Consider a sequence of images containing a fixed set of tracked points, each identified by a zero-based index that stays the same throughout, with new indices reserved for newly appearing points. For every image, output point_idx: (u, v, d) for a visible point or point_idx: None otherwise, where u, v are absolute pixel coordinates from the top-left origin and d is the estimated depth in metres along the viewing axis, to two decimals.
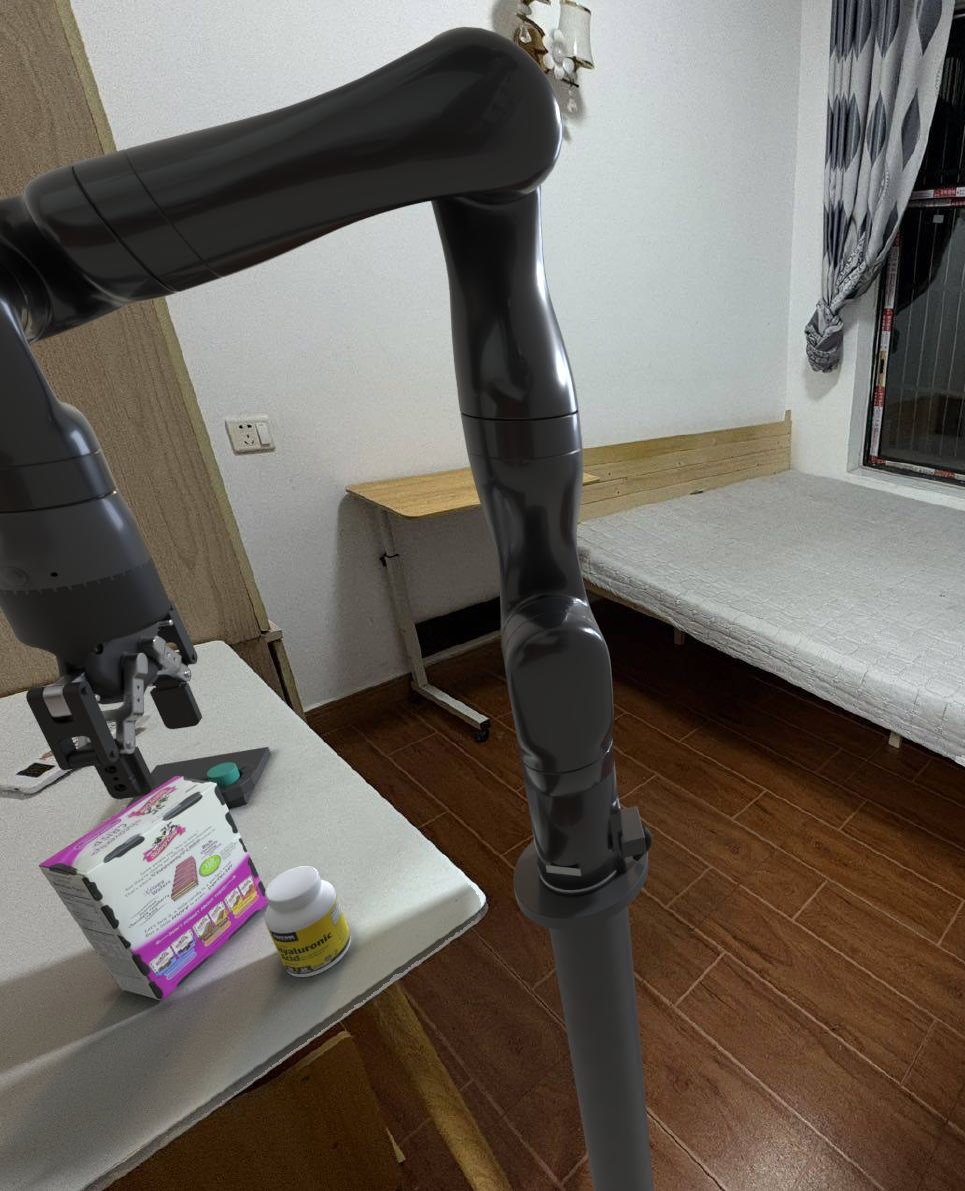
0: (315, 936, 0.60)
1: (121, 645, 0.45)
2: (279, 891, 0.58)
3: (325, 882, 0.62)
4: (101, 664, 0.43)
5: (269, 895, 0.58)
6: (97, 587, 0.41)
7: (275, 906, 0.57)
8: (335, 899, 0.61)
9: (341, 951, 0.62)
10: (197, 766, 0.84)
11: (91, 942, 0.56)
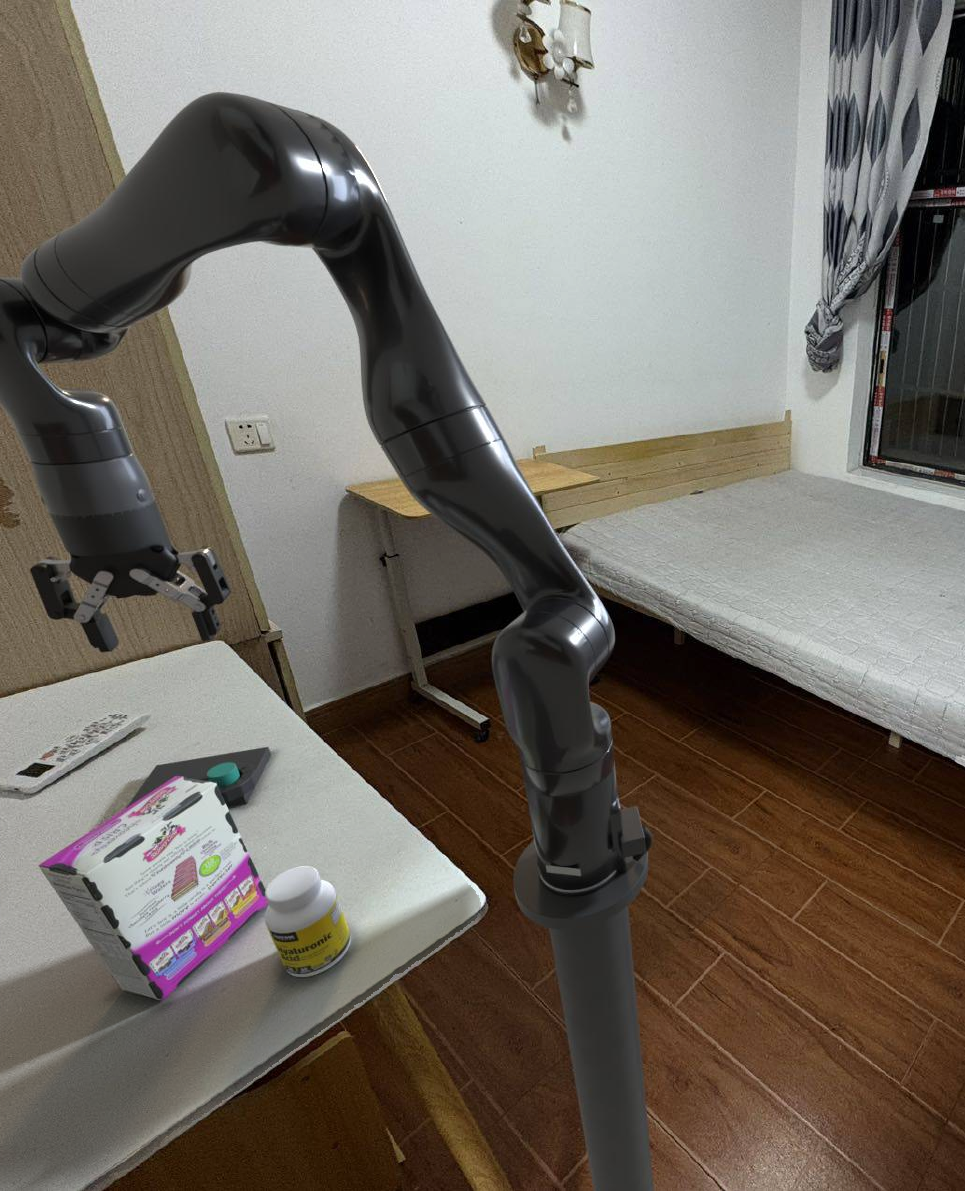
0: (315, 936, 0.60)
1: None
2: (279, 891, 0.58)
3: (325, 882, 0.62)
4: None
5: (269, 895, 0.58)
6: None
7: (275, 906, 0.57)
8: (335, 899, 0.61)
9: (341, 951, 0.62)
10: (197, 766, 0.84)
11: (91, 942, 0.56)
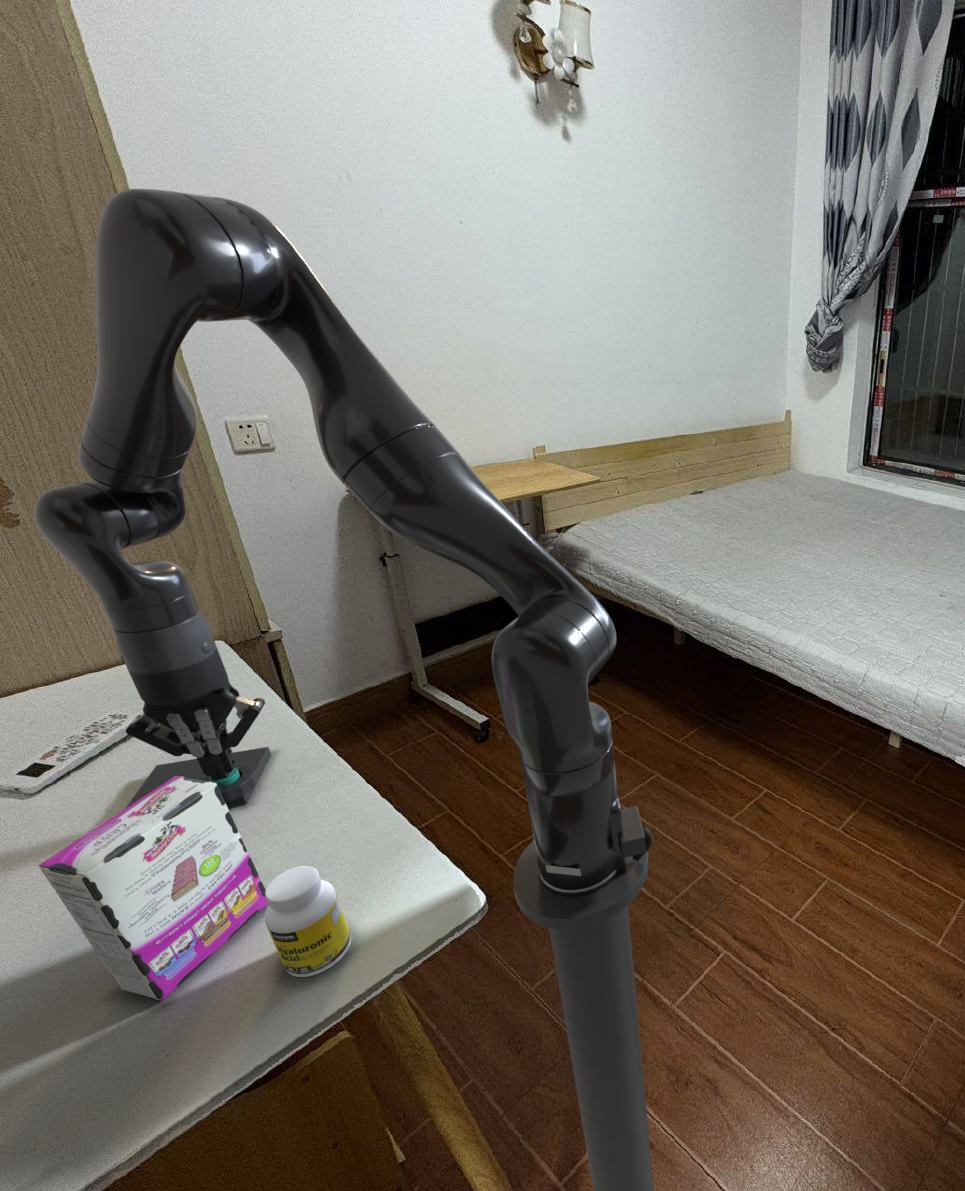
0: (315, 936, 0.60)
1: None
2: (279, 891, 0.58)
3: (325, 882, 0.62)
4: None
5: (269, 895, 0.58)
6: None
7: (275, 906, 0.57)
8: (335, 899, 0.61)
9: (341, 951, 0.62)
10: (197, 766, 0.84)
11: (91, 942, 0.56)
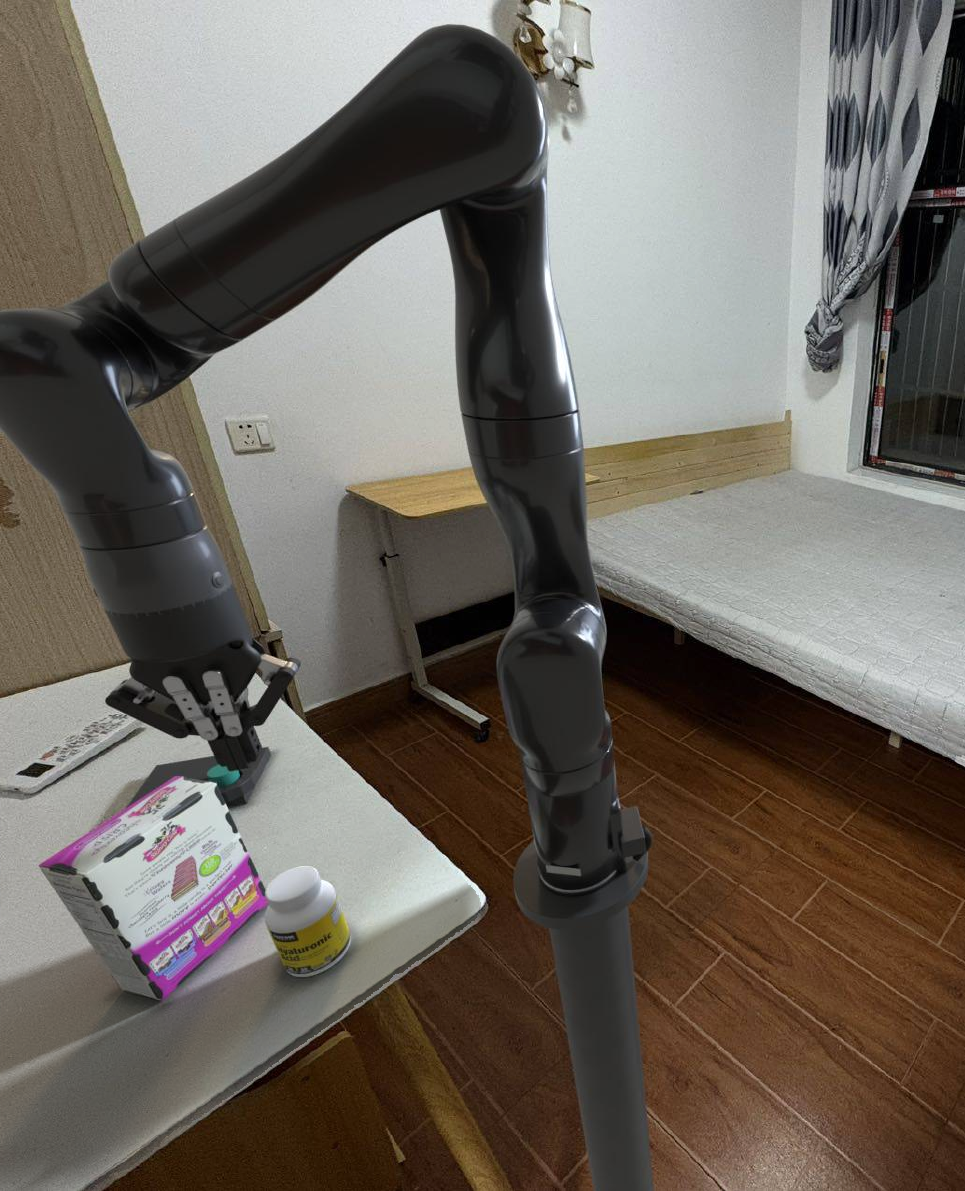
0: (315, 936, 0.60)
1: None
2: (279, 891, 0.58)
3: (325, 882, 0.62)
4: None
5: (269, 895, 0.58)
6: None
7: (275, 906, 0.57)
8: (335, 899, 0.61)
9: (341, 951, 0.62)
10: (197, 766, 0.84)
11: (91, 942, 0.56)
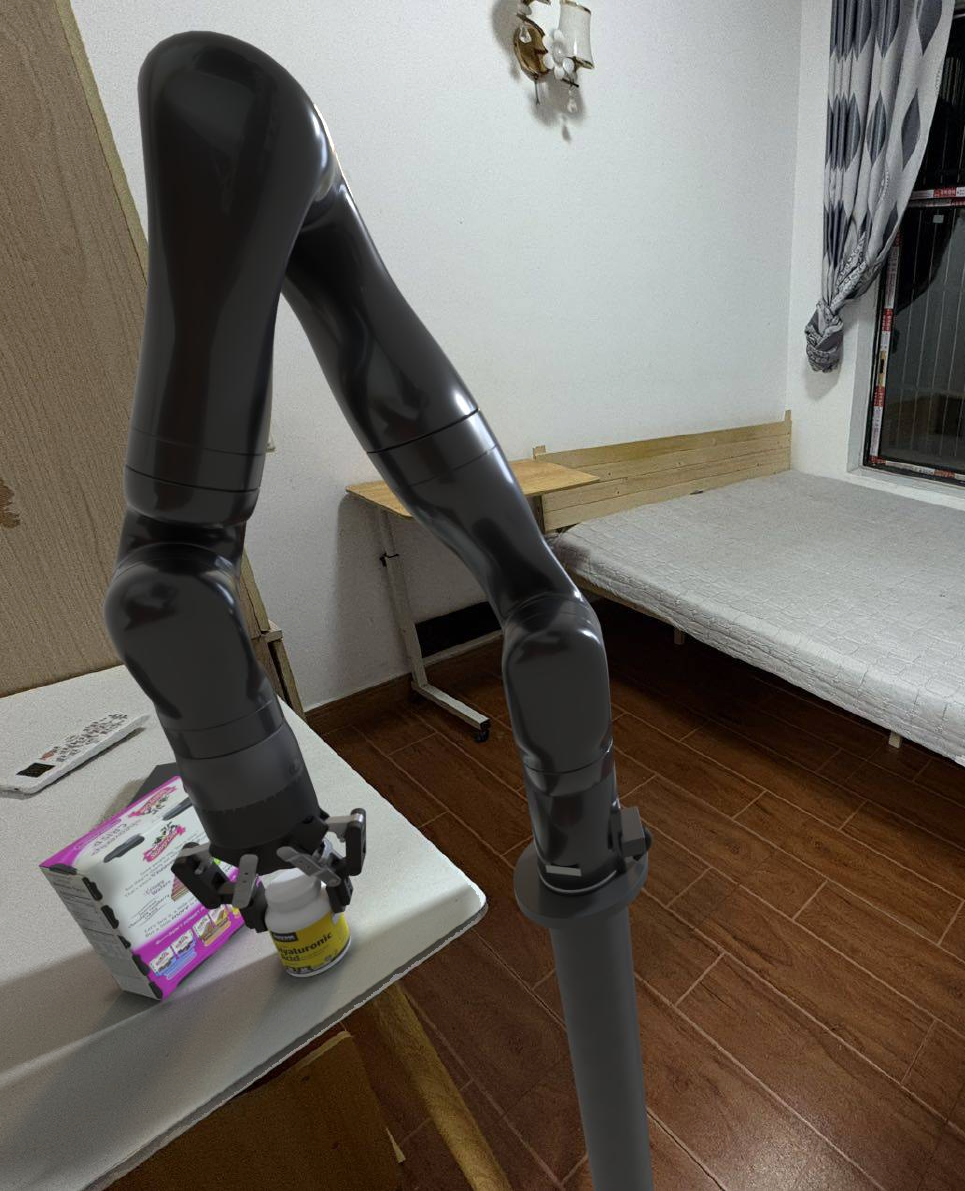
0: (315, 936, 0.60)
1: None
2: (279, 891, 0.58)
3: None
4: None
5: (269, 895, 0.58)
6: None
7: (275, 906, 0.57)
8: None
9: (341, 951, 0.62)
10: None
11: (91, 942, 0.56)
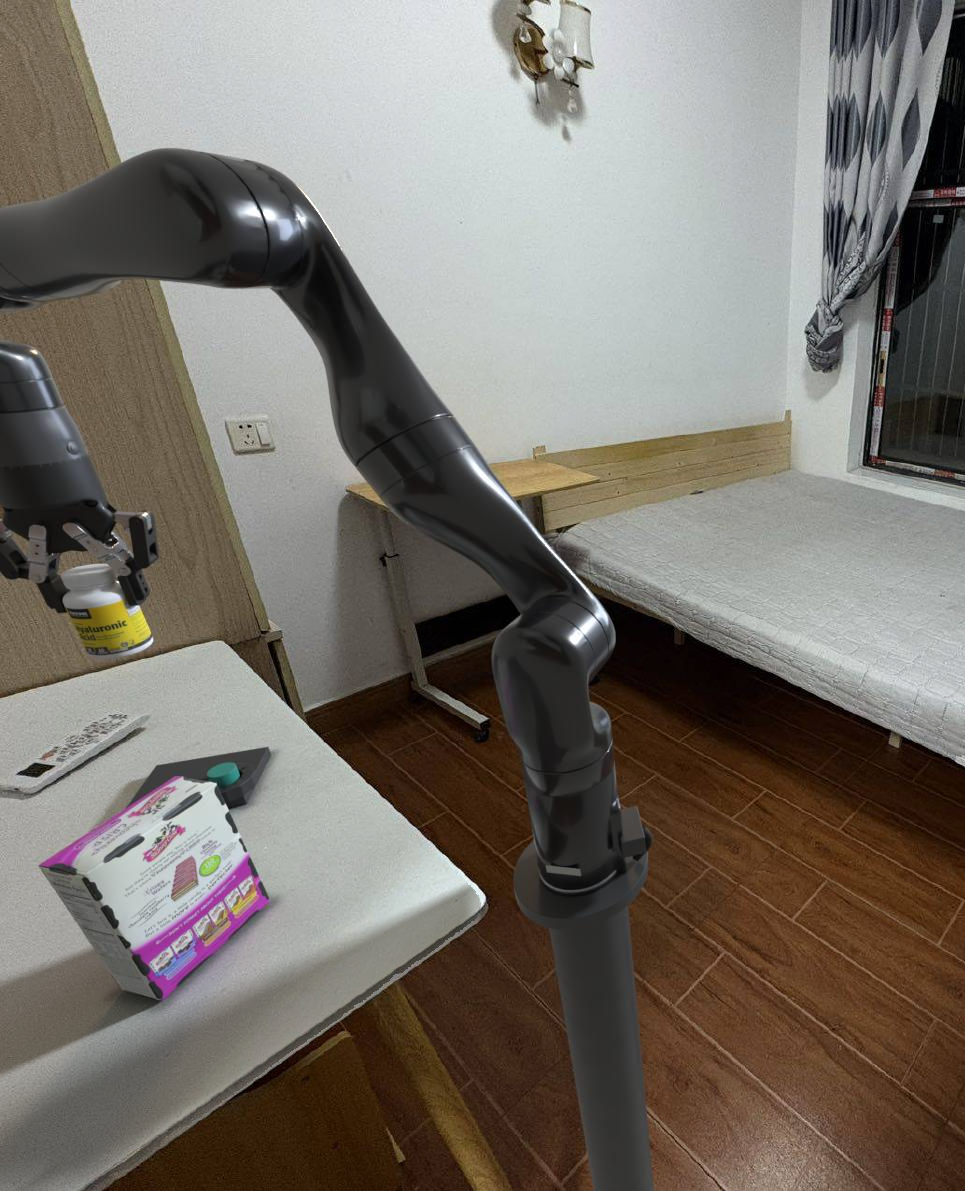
0: (109, 618, 0.70)
1: None
2: (73, 573, 0.68)
3: None
4: None
5: (63, 575, 0.68)
6: None
7: (68, 583, 0.68)
8: None
9: (139, 644, 0.73)
10: (197, 766, 0.84)
11: (91, 942, 0.56)
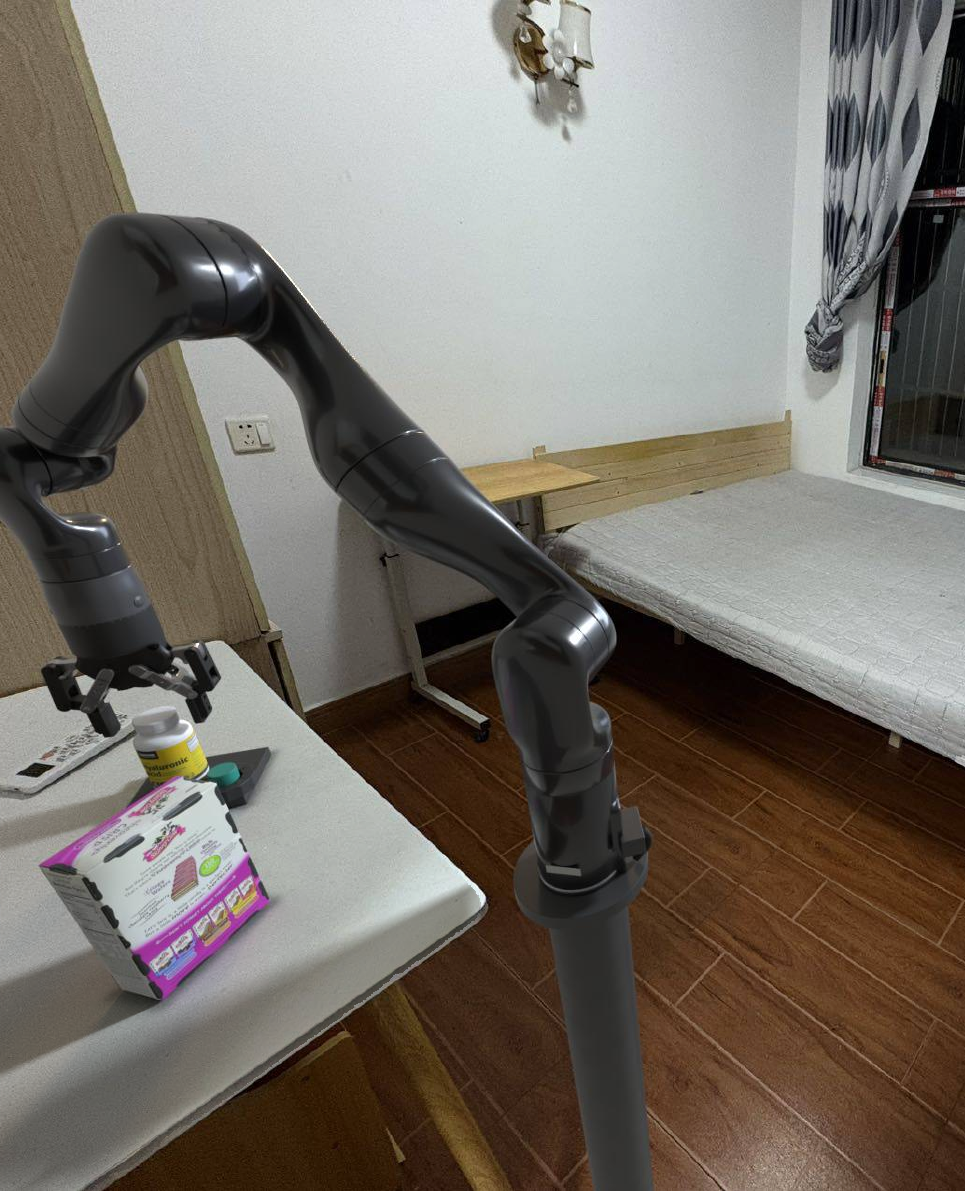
0: (173, 757, 0.78)
1: None
2: (143, 720, 0.77)
3: (185, 721, 0.80)
4: None
5: (135, 722, 0.76)
6: None
7: (139, 729, 0.76)
8: (191, 733, 0.80)
9: (198, 775, 0.81)
10: None
11: (91, 942, 0.56)
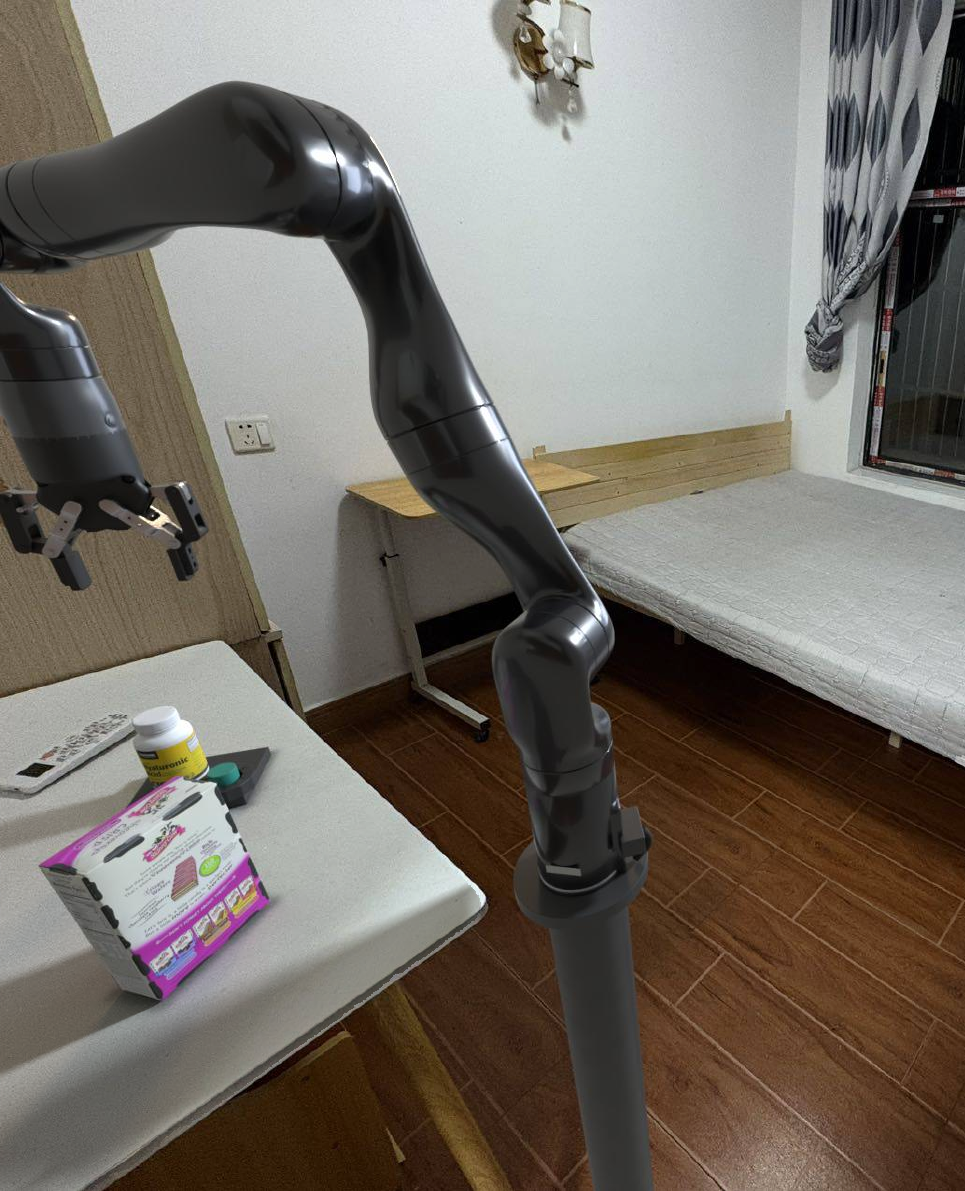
0: (173, 757, 0.78)
1: None
2: (143, 720, 0.77)
3: (185, 721, 0.80)
4: None
5: (135, 722, 0.76)
6: None
7: (139, 729, 0.76)
8: (191, 733, 0.80)
9: (198, 775, 0.81)
10: None
11: (91, 942, 0.56)
